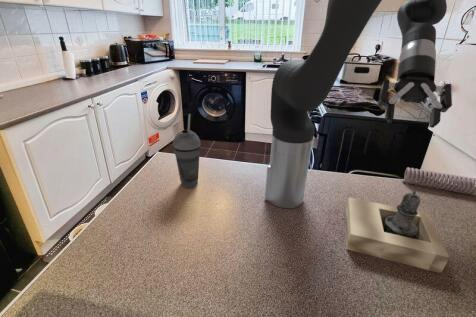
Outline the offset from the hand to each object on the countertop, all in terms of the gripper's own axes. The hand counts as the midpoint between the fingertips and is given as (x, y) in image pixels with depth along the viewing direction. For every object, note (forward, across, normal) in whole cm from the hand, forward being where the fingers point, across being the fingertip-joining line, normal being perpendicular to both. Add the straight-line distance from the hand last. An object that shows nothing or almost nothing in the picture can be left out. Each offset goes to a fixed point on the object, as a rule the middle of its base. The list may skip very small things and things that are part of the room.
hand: (411, 123), depth 59 cm
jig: (+26, -2, +3) cm, 26 cm away
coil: (+7, +14, +23) cm, 28 cm away
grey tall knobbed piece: (+26, 0, +4) cm, 26 cm away
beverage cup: (+24, -51, +5) cm, 57 cm away
